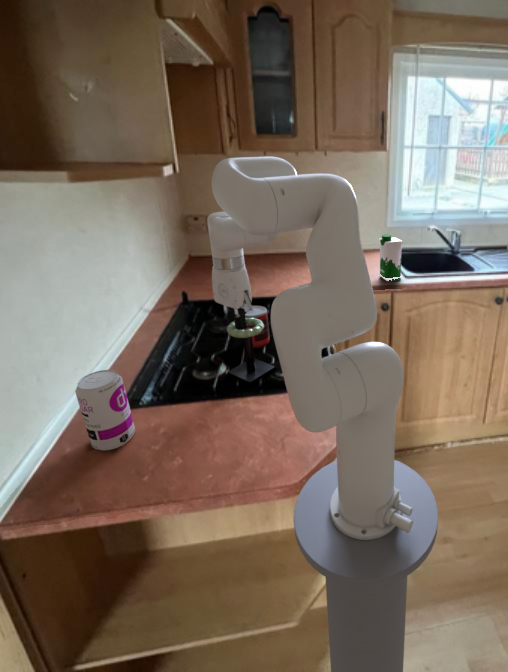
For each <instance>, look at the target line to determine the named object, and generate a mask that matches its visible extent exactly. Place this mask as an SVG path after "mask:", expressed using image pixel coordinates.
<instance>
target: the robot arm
mask: <svg viewBox="0 0 508 672" xmlns="http://www.w3.org/2000/svg"><path fill="white" fill-rule="evenodd" d="M211 191H212V195H213V197H214V200H215V201H216V203H217V205H218V206H219V208H220V209H221V210H222V211H216V212H212V213H210V214H209V215H208V216H207V220H206V221H207V222H206V223H207V231H208V237H209V242H210V243H209V244H210V250H211V257H212V265H213V266H212V269H211V284H212V285H211V287H212V296H213V300H214V302H215V303H217V304H219V305H221V307H222V308H223V312H224V314H225V315H226V323H227V326H228V325H229V324H230V323H231V322H233V321H235V328H236V329H237V330H242V329H244V328H246V326H247V325H246V317H245V314H247V312H248V311H250V310H252V309H253V308H252V306H253V305H252V302H253V301H252V300H253V298H252V296H253V295H252V289H251V283H250V278H249V273H248V270H247V267H246V264H245V263H246V262H245V254H244V249H247V248H248V249H249V248H254V247H259V246H261V247H262V246H265V245H269V244H270V243H272V242H273V241H274V240H275V239H276V238H278V236H279V235H280V234H283V233H288V232H296V231H301V230H307V229H312V230H311V232H310V234H309V237H308V240H307V242H306V247H305V256H306V262H307V265H308V268H309V274H310V278H311V281H310V282H309V283H304V284H301V285H296V286H294V287H293V286H292V287H289V288H287V289H285V290H282V291H281V292H280V293H278V294H277V296H276V297H275V298H274V299H273V301H272V304H271V308H270V325H271V326H270V328H271V333H272V336H273V341H274V345H275V349H276V353H277V357H278V360H279V365H280V369H281V373H282V376H283V380H284V385H285V388H286V392H287V397H288V400H289V403H290V406H291V409H292V412H293V414H294V416H295V419H296V421H297V423H299V425H300V426H301V427H302V428H303V429H304V430H305V431H307V432H310V433H322V432H326V431H328V430H330V429H332V428H334V427H335V445H336V447H335V449H336V461H337V475H338V487H337V488H336V489H335V491H334V492H333V494H332V496H331V500H330V515H331V518H332V521H333V523H334V524H335V526H336V527H337V528H338V529H339V530H340V531H341V532H342V533H344V534H345V535H347V536H349V537H351V538H355V539H359V540H372V539H376V538H380V537H382V536H384V535H386V534H388V533H389V532H391V531H392V530H393V529H394V528H395V527H396V526H397V527H398V528H399V529H401V530H403V531H405V532H406V533H409V532H410V530H411V528H412V525H413V521H412V520H410V519H408V518H406V517H405V516H402V513H404V514H406V515H408V516H410V515H411V513H412V510H413V508H412V507H410V506H408V505H406V504H403V503H402V500H401V496H400V494H399V489H397V488H395V487H394V460H395V454H396V453H395V449H396V426H397V424H396V423H397V413H398V407H399V404H400V399H401V395H402V392H403V391H402V390H403V386H404V368H403V363H402V360H401V358H400V356H399V354H398V353H397V351H396V350H394V348H393V347H392V346H390V345H388V344H386V343H384V342H380V341H368V342H362V343H359V344H356V345H353V346H351V347H348V348H345V349H342V350H340V351H337V352H335V353H333V354H330V355H327V356H322V354H323V353H322V352H323V349H326V348H328V347H331V346H334V345H337V344H340V343H343V342H346V341H348V340H351V339H354V338H357V337H359V336H361V335H364V334H365V333H368V332H369V331H370V330H372V329H373V328H374V327H375V326H376V324H377V321H378V308H377V307H378V306H377V302H376V301H377V300H376V298H375V293H374V289H373V285H372V281H371V277H370V273H369V269H368V263H367V261H366V257H365V253H364V249H363V245H362V240H361V228H360V210H359V203H358V198H357V195H356V193H355V191H354V189H353V187H352V185H351V183H349V182H348V180H347V179H345V178H344V177H342V176H340V175H338V174H334V173H301V174H298V173H297V171H296V168H295V167H294V165H292V164H291V163H290V162H289V161H287V160H286V159H284V158H282V157H278V156H268V155H267V156H266V155H265V156H244V157H243V156H241V157H240V156H239V157H228V158H224V159H221V160H220V161H218V162H217V164H216V165H215V167H214V169H213V171H212V174H211Z"/></svg>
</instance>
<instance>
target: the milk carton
mask: <svg viewBox="0 0 508 672" xmlns="http://www.w3.org/2000/svg"><path fill="white" fill-rule="evenodd" d="M378 241H379V275H380V274H381V275H382V276H383V277H385V278H393V277H400V276H402V249H403V248H402V247H403V240H402V239H399V238H397V237H394V236H393V237H392V235H391V234H382V235H381V238H379V239H378ZM401 279H402V277H401V278H398V279H395V280H394V279H392V281H391V280H389V282H396V281H397V282H398V281H401Z"/></svg>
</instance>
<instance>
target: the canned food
mask: <svg viewBox="0 0 508 672" xmlns="http://www.w3.org/2000/svg"><path fill="white" fill-rule="evenodd" d="M252 308H253V309H252V310H250V311H248V312H247V314H245V317H246V318H256V319H259V320H261V321H262V322H263V324H264V328H263V330H262V331H261V333H259V334H257V335H255V336H252V339H253V348H254V349H258V348H263V347H265V346H267V345H268V344H269V343H270V340H271V337H270V336H271V335H270V327H269V316H268V309H267V308H266V306H262V305H252ZM253 327H255V326H253V325H247V326H246V328H253Z"/></svg>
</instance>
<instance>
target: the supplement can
mask: <svg viewBox="0 0 508 672" xmlns="http://www.w3.org/2000/svg"><path fill="white" fill-rule="evenodd" d="M75 396H76V399H77V403H78V407H79V410H80V413H81V415H82V419H83V422H84V425H85V429H86V433H87V436H88V439H89V442H90V445H91V447H92V448H93V449H95V450H99V451H111V450H115V449H117V448H120V447H122V446H124V445H125V444H127V443H128V442H129V441H131V439H132V437H133V436H134V435H135V432H136V426H135V423H134V419H133V416H132V411H131V406H130V403H129V400H128V395H127V390H126V388H125V383H124V379H123V377H122V375H120V374H118V372H117V371H116V370H114V369H101V370H97V371H93V372H91V373H89V374H86V375H84V376H83V377H81V378H80V379H78V381H77V383H76V388H75Z"/></svg>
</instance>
